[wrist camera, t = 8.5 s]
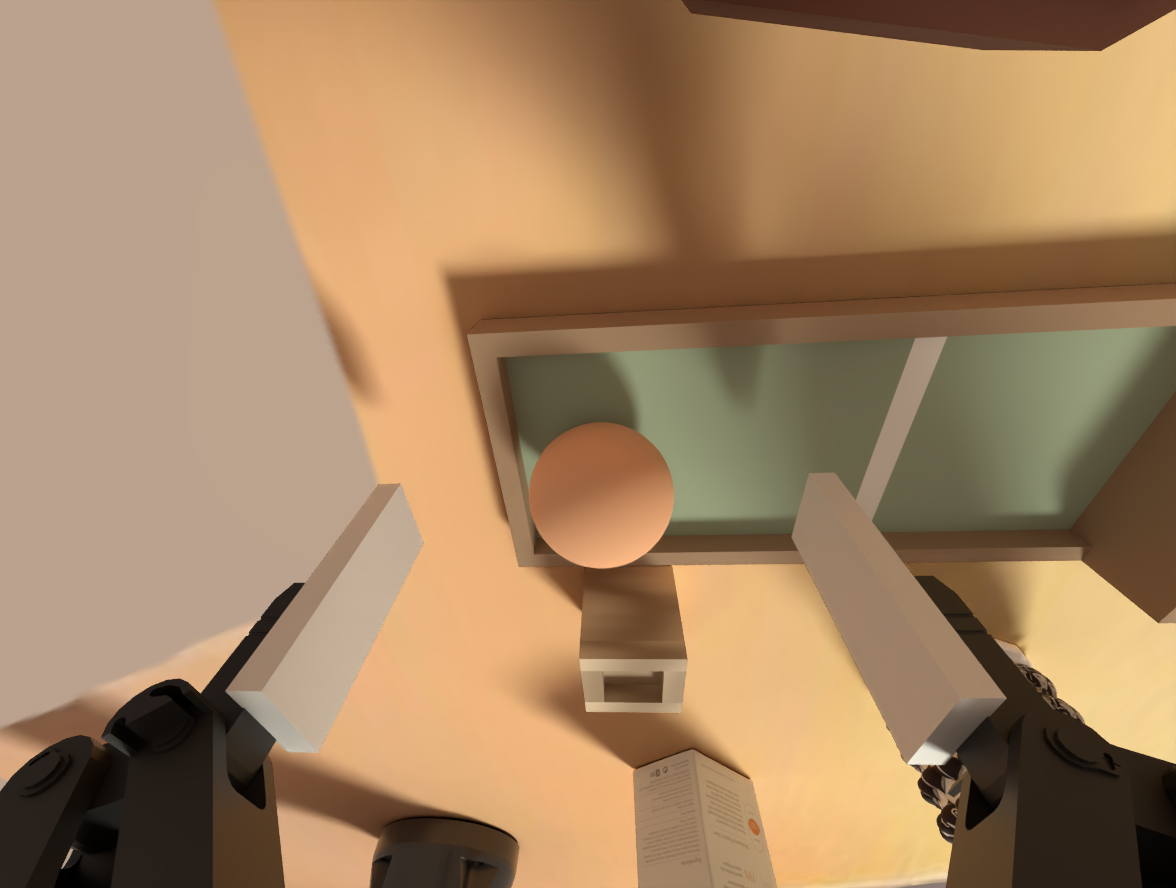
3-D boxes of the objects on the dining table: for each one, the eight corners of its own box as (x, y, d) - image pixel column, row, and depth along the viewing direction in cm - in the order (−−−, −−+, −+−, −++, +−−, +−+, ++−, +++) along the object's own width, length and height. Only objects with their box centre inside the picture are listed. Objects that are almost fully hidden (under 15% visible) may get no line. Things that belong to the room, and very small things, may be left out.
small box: (630, 768, 34) (641, 1047, 23) (693, 746, 32) (738, 1048, 21) (692, 798, 37) (728, 1058, 26) (754, 780, 34) (822, 1061, 24)
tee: (589, 620, 24) (586, 711, 20) (584, 567, 21) (579, 659, 17) (668, 619, 23) (681, 712, 19) (672, 565, 21) (687, 659, 17)
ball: (545, 504, 18) (530, 602, 14) (529, 401, 15) (504, 484, 11) (661, 499, 18) (681, 598, 14) (665, 393, 15) (692, 477, 11)
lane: (524, 541, 20) (505, 624, 17) (479, 319, 15) (434, 370, 11) (1076, 532, 19) (1195, 623, 15) (1275, 277, 13) (1553, 320, 9)
